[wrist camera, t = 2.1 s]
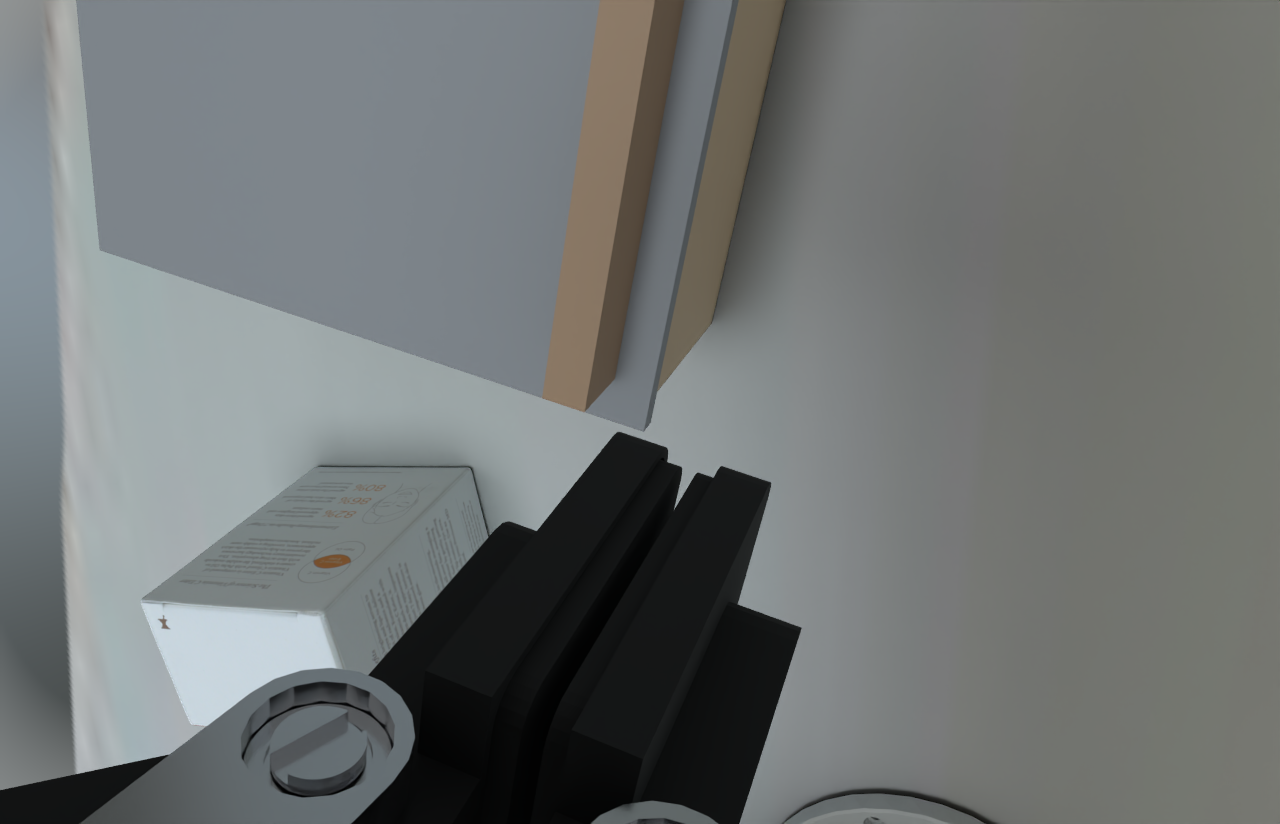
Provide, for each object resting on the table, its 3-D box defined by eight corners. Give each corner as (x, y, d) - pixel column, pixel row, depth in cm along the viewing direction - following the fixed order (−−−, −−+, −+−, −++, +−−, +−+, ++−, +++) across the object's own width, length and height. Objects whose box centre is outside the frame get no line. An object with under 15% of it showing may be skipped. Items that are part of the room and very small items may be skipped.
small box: (349, 571, 46) (184, 728, 37) (314, 462, 44) (131, 600, 35) (504, 580, 43) (366, 753, 34) (475, 463, 41) (319, 615, 32)
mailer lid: (772, -162, 21) (740, -172, 19) (650, 422, 28) (616, 468, 26) (67, -299, 25) (-33, -322, 23) (114, 244, 32) (41, 270, 30)
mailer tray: (816, -132, 28) (758, -147, 22) (711, 322, 35) (645, 406, 29) (264, -242, 32) (87, -281, 26) (267, 187, 38) (128, 236, 32)
